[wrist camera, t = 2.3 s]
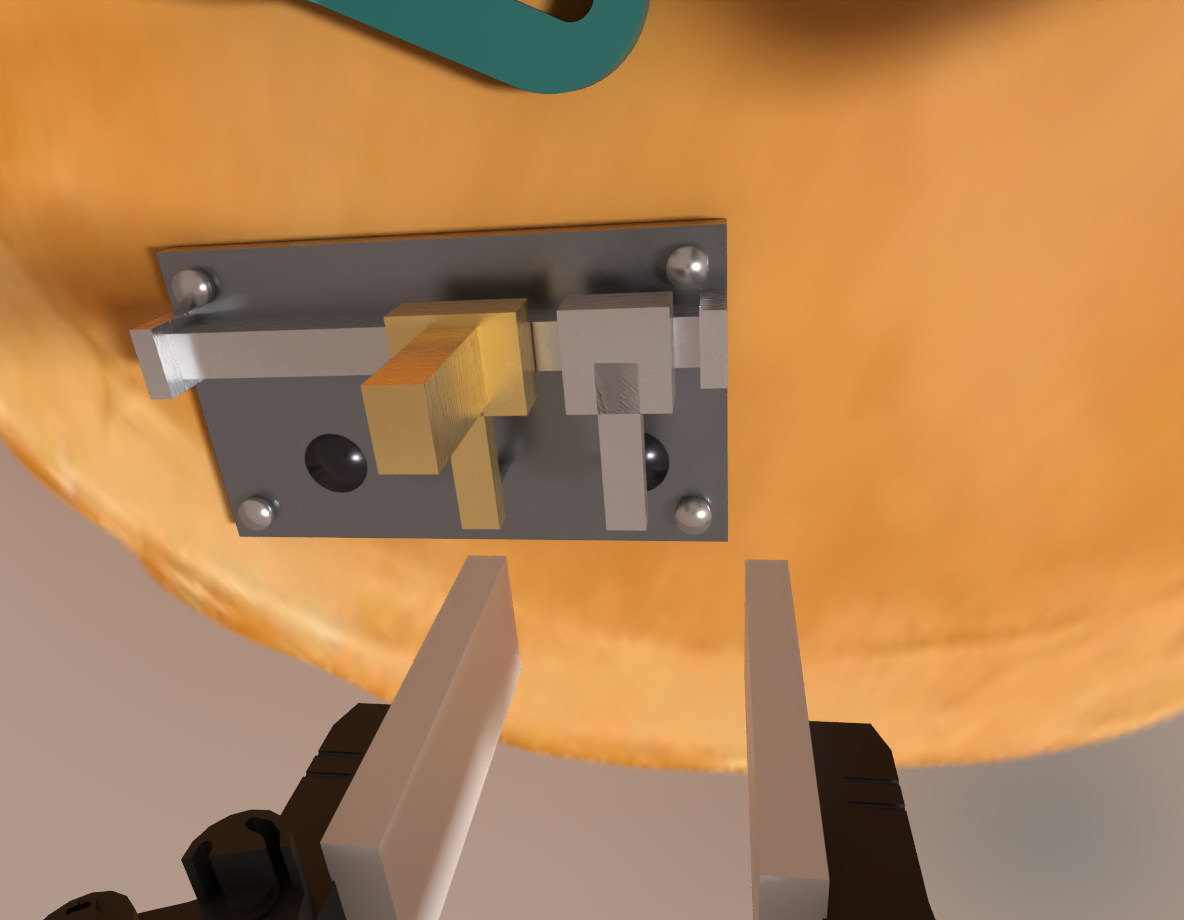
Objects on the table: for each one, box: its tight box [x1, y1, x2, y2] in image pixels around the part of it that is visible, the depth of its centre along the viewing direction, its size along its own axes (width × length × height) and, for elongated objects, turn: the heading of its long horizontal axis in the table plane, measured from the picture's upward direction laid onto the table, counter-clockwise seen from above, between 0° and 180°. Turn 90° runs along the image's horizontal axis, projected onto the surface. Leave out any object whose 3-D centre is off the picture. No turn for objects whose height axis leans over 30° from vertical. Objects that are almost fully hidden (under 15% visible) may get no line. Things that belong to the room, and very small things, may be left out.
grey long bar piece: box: [129, 289, 727, 531], centre depth 34 cm, size 9×24×4 cm, turn 94°
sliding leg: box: [361, 298, 538, 529], centre depth 31 cm, size 9×5×10 cm, turn 4°
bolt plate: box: [156, 219, 728, 542], centre depth 36 cm, size 14×24×2 cm, turn 94°
